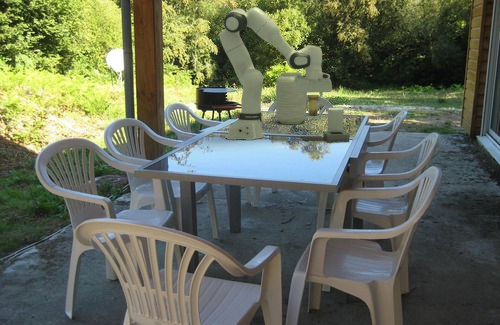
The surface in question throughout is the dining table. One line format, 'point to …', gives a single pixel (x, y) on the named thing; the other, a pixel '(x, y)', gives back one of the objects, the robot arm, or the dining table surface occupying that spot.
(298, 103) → the vase
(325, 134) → the housing
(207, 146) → the dining table surface
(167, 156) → the dining table surface
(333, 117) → the supplement box
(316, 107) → the knob
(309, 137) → the mat
